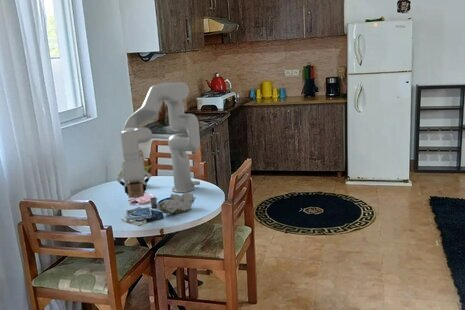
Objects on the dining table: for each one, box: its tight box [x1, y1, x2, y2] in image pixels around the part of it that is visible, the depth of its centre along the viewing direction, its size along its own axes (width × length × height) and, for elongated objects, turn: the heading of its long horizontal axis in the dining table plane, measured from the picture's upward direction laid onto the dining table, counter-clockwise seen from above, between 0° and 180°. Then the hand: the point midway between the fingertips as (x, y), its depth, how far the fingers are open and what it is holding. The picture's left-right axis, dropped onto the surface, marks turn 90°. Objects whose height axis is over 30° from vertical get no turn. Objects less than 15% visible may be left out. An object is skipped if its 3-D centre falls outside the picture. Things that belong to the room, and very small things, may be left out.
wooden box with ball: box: [127, 180, 145, 199], centre depth 215 cm, size 8×7×6 cm
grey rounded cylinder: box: [149, 196, 158, 209], centre depth 229 cm, size 3×3×5 cm
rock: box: [157, 192, 195, 215], centre depth 220 cm, size 19×11×10 cm, turn 132°
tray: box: [125, 206, 153, 223], centre depth 218 cm, size 12×12×2 cm
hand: (135, 193), depth 216 cm, fingers closed on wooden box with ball, 7 cm apart
